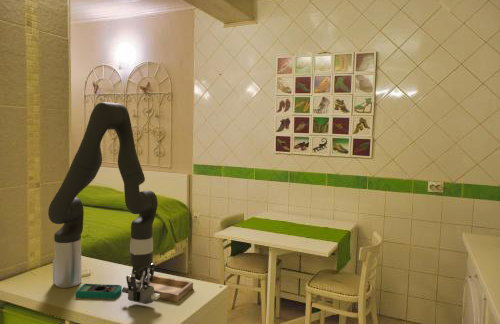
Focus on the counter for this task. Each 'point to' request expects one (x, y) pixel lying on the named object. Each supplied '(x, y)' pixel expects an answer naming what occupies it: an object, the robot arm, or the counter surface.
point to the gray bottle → (143, 294)
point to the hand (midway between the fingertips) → (140, 297)
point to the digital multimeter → (99, 291)
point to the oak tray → (170, 287)
